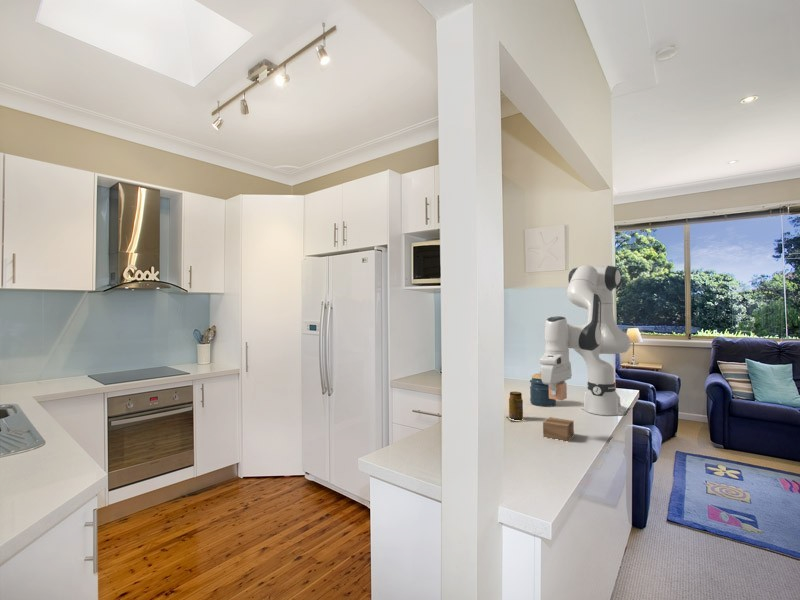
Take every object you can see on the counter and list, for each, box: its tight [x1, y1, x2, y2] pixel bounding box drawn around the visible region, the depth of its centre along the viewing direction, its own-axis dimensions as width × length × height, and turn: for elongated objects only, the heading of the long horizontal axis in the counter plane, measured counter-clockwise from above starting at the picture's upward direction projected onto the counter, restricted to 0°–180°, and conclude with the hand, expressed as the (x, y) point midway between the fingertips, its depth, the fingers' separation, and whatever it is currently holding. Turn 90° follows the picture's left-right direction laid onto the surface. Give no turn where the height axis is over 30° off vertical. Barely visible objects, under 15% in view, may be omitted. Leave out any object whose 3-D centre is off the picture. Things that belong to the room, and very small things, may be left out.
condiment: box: [508, 391, 527, 423], centre depth 178 cm, size 7×8×12 cm
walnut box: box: [542, 416, 575, 442], centre depth 153 cm, size 9×9×6 cm
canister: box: [529, 370, 557, 407], centre depth 207 cm, size 13×13×18 cm
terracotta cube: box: [549, 382, 568, 401], centre depth 154 cm, size 5×5×6 cm
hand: (557, 393), depth 154 cm, fingers closed on terracotta cube, 5 cm apart
